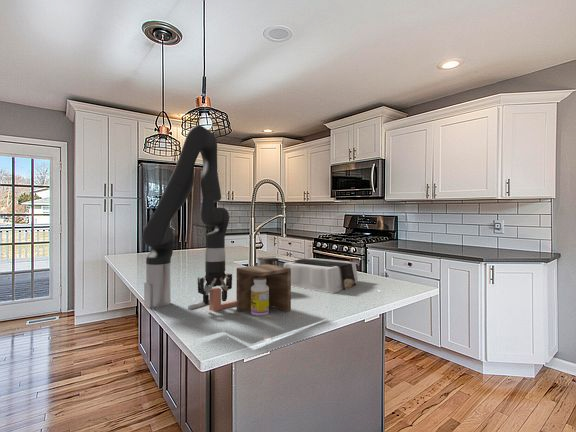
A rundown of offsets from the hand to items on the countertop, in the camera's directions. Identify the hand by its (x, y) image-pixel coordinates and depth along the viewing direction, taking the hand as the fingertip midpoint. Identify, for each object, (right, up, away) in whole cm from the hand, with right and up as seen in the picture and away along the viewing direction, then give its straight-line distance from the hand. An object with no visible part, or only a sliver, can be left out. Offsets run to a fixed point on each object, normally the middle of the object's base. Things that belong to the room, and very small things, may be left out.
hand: (215, 302), depth 125 cm
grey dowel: (-5, -2, +7) cm, 9 cm away
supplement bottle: (+17, -3, -5) cm, 18 cm away
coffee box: (+18, -3, +28) cm, 34 cm away
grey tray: (+44, -3, +43) cm, 62 cm away
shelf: (+19, -3, -2) cm, 19 cm away
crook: (+4, -3, +7) cm, 9 cm away
